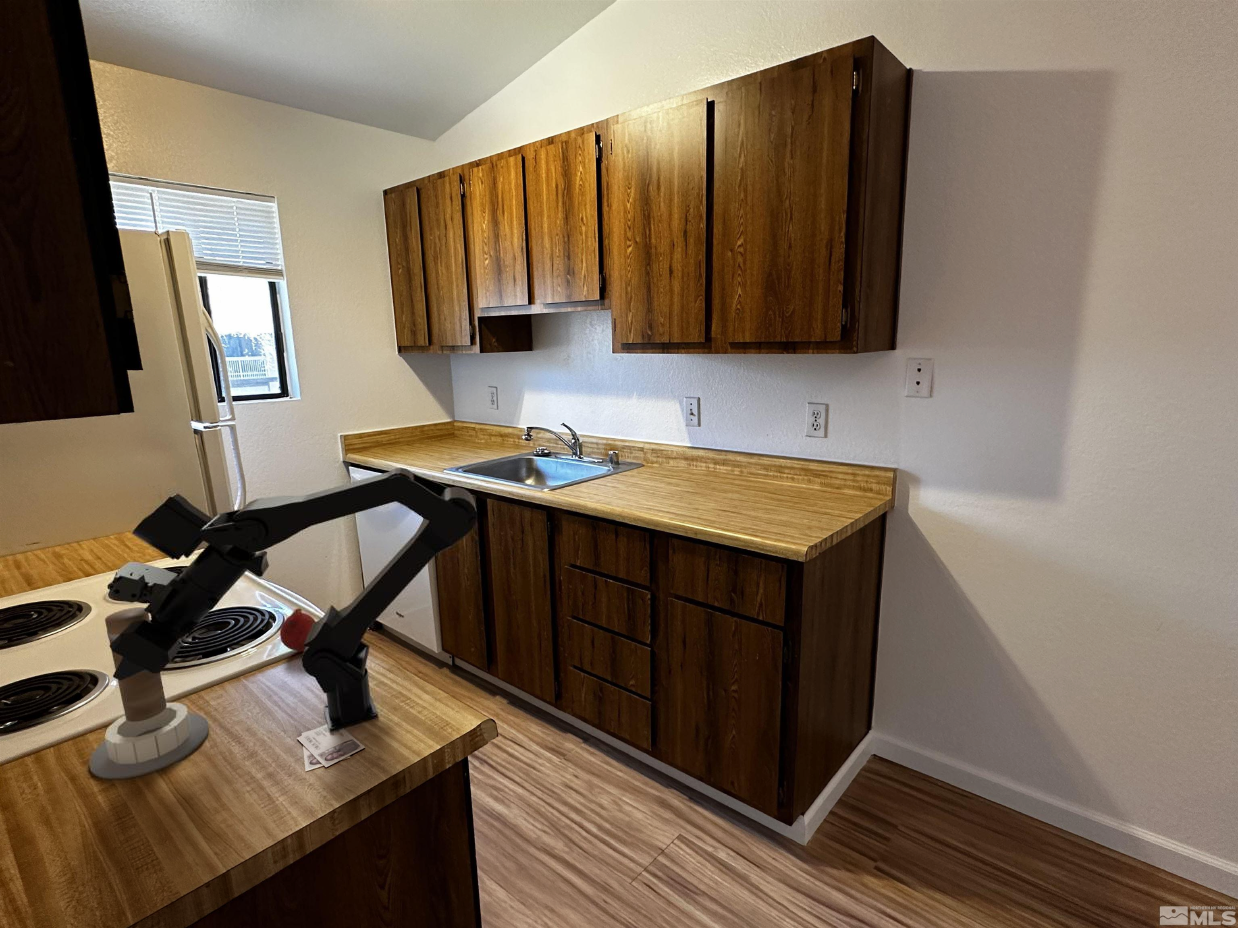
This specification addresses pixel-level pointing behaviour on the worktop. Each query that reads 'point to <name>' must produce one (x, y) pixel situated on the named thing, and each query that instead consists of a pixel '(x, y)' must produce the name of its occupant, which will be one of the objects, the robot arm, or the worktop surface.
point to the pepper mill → (142, 688)
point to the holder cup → (148, 743)
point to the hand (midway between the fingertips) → (125, 668)
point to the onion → (296, 630)
